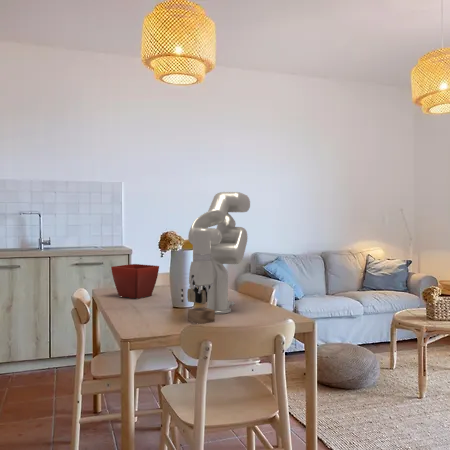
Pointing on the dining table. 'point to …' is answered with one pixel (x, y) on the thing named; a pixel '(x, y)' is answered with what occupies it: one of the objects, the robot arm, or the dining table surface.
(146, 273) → the plant pot
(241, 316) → the dining table surface
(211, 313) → the tan box
